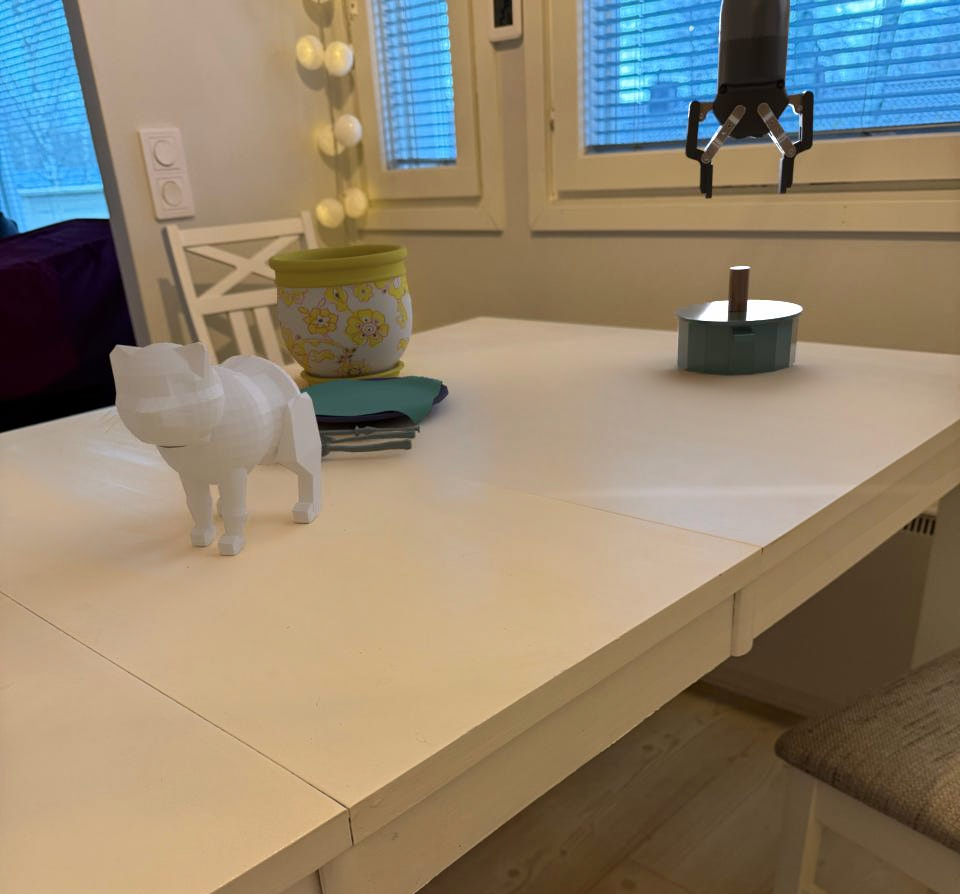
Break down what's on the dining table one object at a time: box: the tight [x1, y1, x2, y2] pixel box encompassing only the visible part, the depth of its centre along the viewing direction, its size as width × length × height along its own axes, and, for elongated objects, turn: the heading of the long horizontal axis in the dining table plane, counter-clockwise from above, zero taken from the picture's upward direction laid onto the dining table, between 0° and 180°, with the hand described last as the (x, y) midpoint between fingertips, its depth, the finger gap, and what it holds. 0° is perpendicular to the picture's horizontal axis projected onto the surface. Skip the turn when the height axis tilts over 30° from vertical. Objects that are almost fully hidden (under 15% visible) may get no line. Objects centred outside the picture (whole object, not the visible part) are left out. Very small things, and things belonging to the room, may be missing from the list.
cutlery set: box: [299, 375, 449, 458], centre depth 109 cm, size 20×30×2 cm, turn 176°
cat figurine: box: [98, 341, 323, 556], centre depth 77 cm, size 25×10×17 cm, turn 164°
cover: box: [673, 266, 803, 325], centre depth 118 cm, size 16×16×6 cm
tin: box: [676, 316, 800, 376], centre depth 121 cm, size 15×20×6 cm
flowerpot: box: [268, 243, 413, 386], centre depth 127 cm, size 18×18×16 cm
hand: (745, 195), depth 113 cm, fingers open, 8 cm apart
